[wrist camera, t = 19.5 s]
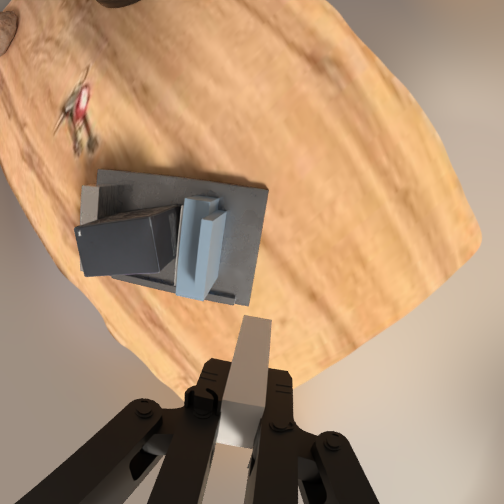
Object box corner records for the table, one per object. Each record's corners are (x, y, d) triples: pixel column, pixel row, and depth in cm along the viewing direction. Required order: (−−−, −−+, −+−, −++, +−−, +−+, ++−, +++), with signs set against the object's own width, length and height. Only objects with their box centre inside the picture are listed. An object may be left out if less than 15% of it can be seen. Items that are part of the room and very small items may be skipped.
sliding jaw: (193, 194, 37) (171, 199, 30) (228, 199, 37) (215, 206, 29) (184, 280, 40) (163, 304, 33) (216, 287, 40) (202, 313, 32)
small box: (123, 256, 41) (82, 279, 30) (115, 212, 39) (71, 225, 29) (188, 250, 39) (159, 276, 29) (182, 202, 38) (148, 213, 28)
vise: (101, 169, 38) (77, 169, 33) (268, 189, 37) (266, 192, 32) (97, 269, 43) (76, 282, 37) (249, 303, 42) (244, 323, 36)
